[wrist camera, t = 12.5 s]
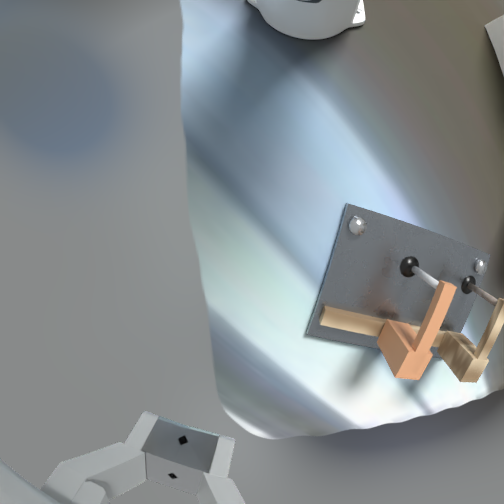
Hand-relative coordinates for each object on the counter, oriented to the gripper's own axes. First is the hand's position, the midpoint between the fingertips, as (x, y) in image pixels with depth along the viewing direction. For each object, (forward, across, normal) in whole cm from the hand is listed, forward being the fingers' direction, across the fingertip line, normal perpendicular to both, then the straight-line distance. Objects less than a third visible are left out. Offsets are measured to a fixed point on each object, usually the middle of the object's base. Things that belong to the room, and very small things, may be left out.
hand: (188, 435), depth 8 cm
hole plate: (+34, -24, +2) cm, 42 cm away
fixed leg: (+33, -24, +3) cm, 41 cm away
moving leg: (+32, -22, +3) cm, 39 cm away
